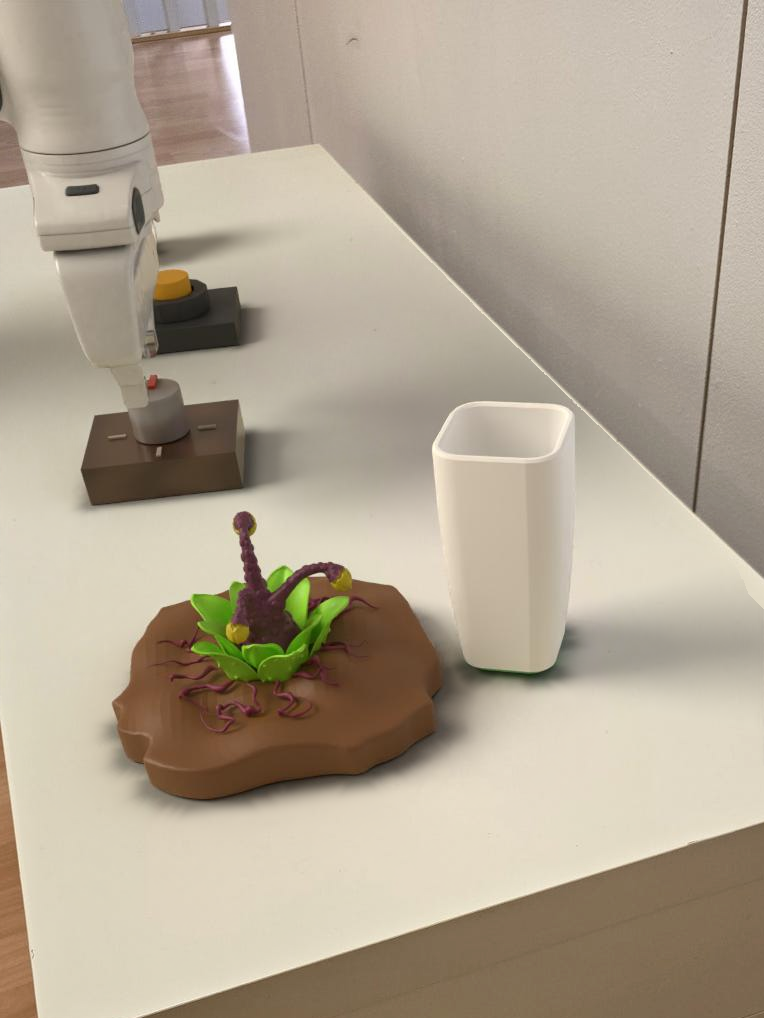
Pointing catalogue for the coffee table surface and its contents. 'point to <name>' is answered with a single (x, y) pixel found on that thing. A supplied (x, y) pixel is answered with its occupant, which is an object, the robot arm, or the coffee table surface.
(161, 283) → the button
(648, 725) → the coffee table surface
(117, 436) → the dial panel
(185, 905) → the coffee table surface
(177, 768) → the plant
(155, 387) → the dial
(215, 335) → the button housing
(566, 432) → the cup
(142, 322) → the robot arm
